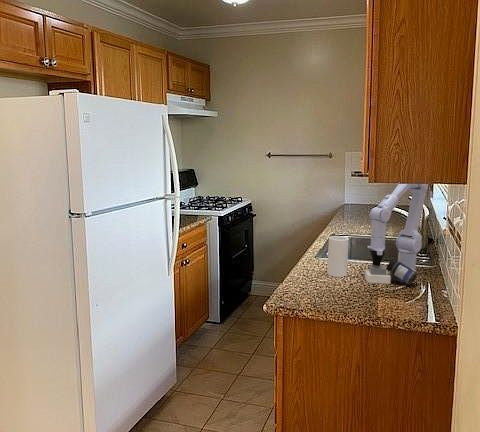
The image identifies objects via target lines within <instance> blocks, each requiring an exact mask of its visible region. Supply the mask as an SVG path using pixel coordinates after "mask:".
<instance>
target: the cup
mask: <svg viewBox="0 0 480 432" xmlns="http://www.w3.org/2000/svg"><path fill="white" fill-rule="evenodd" d="M349 240H350V239H349V237H346V236H341V235H331V236H329V237H328V248H327V249H328V250H327V267H326V268H327V269H326V275H327V276H328V277H332V276H333V277H334V278H344V276H345V277H347V276H348V257H349V242H350V241H349Z"/></svg>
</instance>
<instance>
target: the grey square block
mask: <svg viewBox="0 0 480 432" xmlns="http://www.w3.org/2000/svg"><path fill="white" fill-rule="evenodd" d="M386 268H387V267H386V266H385V265H381V264H380V265H373V264H369V269H368V270H369V271H370V273H371V274H375V275H386V272H387V271H388V270H387V269H386Z"/></svg>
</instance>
